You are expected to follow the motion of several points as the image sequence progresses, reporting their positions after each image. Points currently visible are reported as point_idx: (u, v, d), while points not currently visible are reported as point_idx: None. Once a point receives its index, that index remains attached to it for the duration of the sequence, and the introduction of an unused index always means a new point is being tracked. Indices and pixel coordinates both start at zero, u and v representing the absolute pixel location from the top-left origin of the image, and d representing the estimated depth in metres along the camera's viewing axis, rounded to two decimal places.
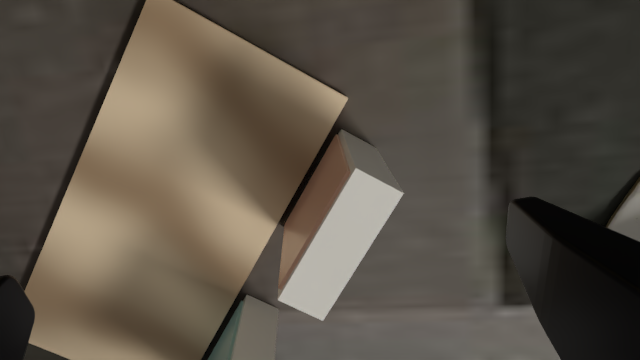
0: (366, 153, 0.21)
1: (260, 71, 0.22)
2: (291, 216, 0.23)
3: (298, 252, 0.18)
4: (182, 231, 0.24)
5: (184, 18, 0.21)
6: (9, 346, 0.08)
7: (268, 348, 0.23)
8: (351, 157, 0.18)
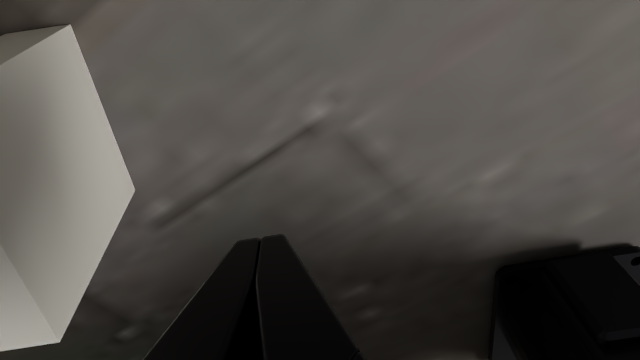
0: None
1: None
2: None
3: None
4: None
5: None
6: None
7: None
8: None
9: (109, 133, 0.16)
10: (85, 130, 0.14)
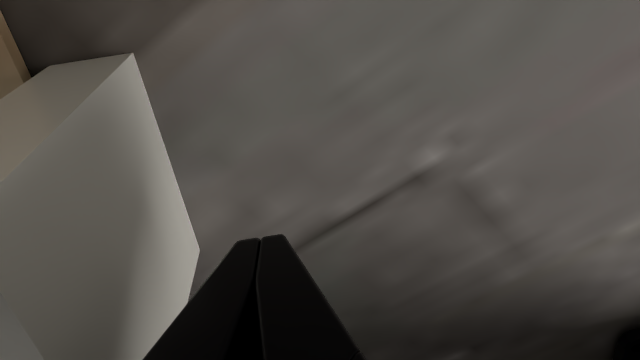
0: None
1: None
2: None
3: None
4: None
5: None
6: None
7: (54, 113, 0.08)
8: None
9: (174, 185, 0.13)
10: (152, 189, 0.11)
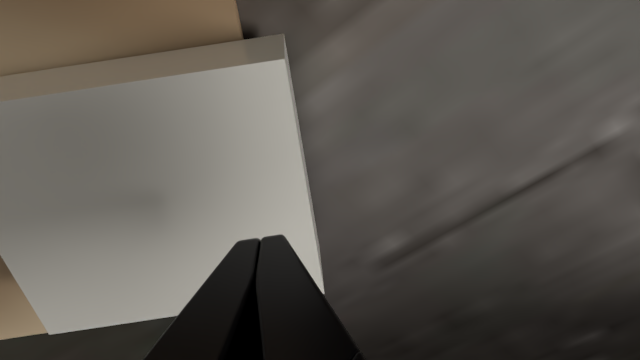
0: None
1: None
2: None
3: None
4: None
5: None
6: None
7: (98, 82, 0.09)
8: None
9: (299, 216, 0.11)
10: (227, 196, 0.10)
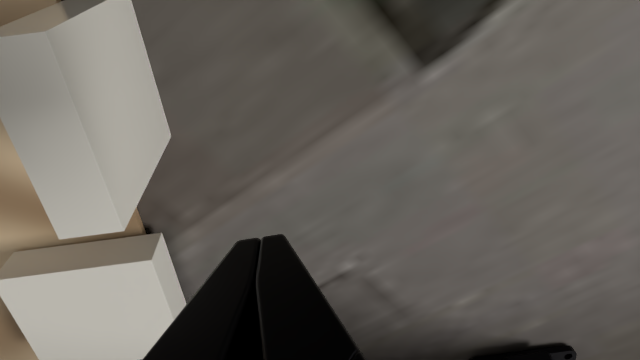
0: (70, 7, 0.15)
1: None
2: None
3: None
4: (38, 208, 0.21)
5: None
6: None
7: (71, 265, 0.21)
8: None
9: (168, 319, 0.22)
10: (131, 311, 0.22)
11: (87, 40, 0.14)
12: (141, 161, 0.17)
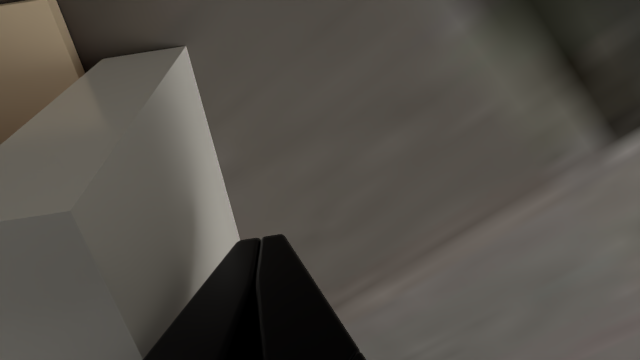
0: (103, 96, 0.09)
1: None
2: None
3: None
4: None
5: None
6: None
7: None
8: None
9: None
10: None
11: (141, 172, 0.07)
12: None
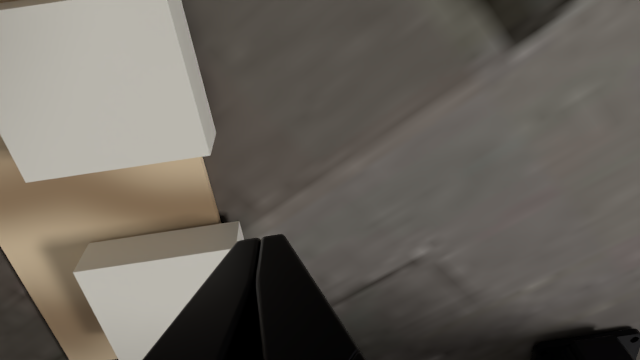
0: None
1: None
2: None
3: None
4: (116, 198, 0.21)
5: None
6: None
7: (153, 255, 0.20)
8: (19, 1, 0.16)
9: None
10: None
11: (17, 32, 0.15)
12: (95, 150, 0.17)
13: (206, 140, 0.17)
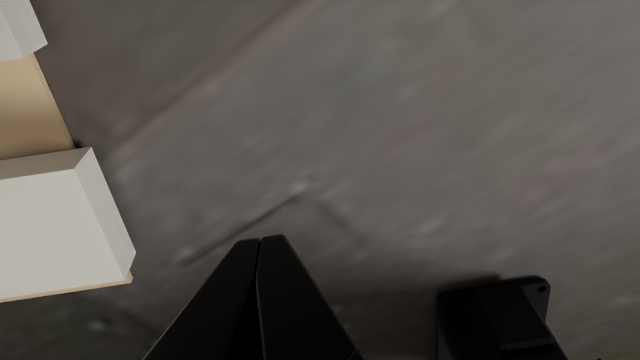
0: None
1: None
2: None
3: None
4: None
5: None
6: None
7: None
8: None
9: (100, 239, 0.21)
10: (59, 230, 0.20)
11: None
12: None
13: (16, 40, 0.16)
